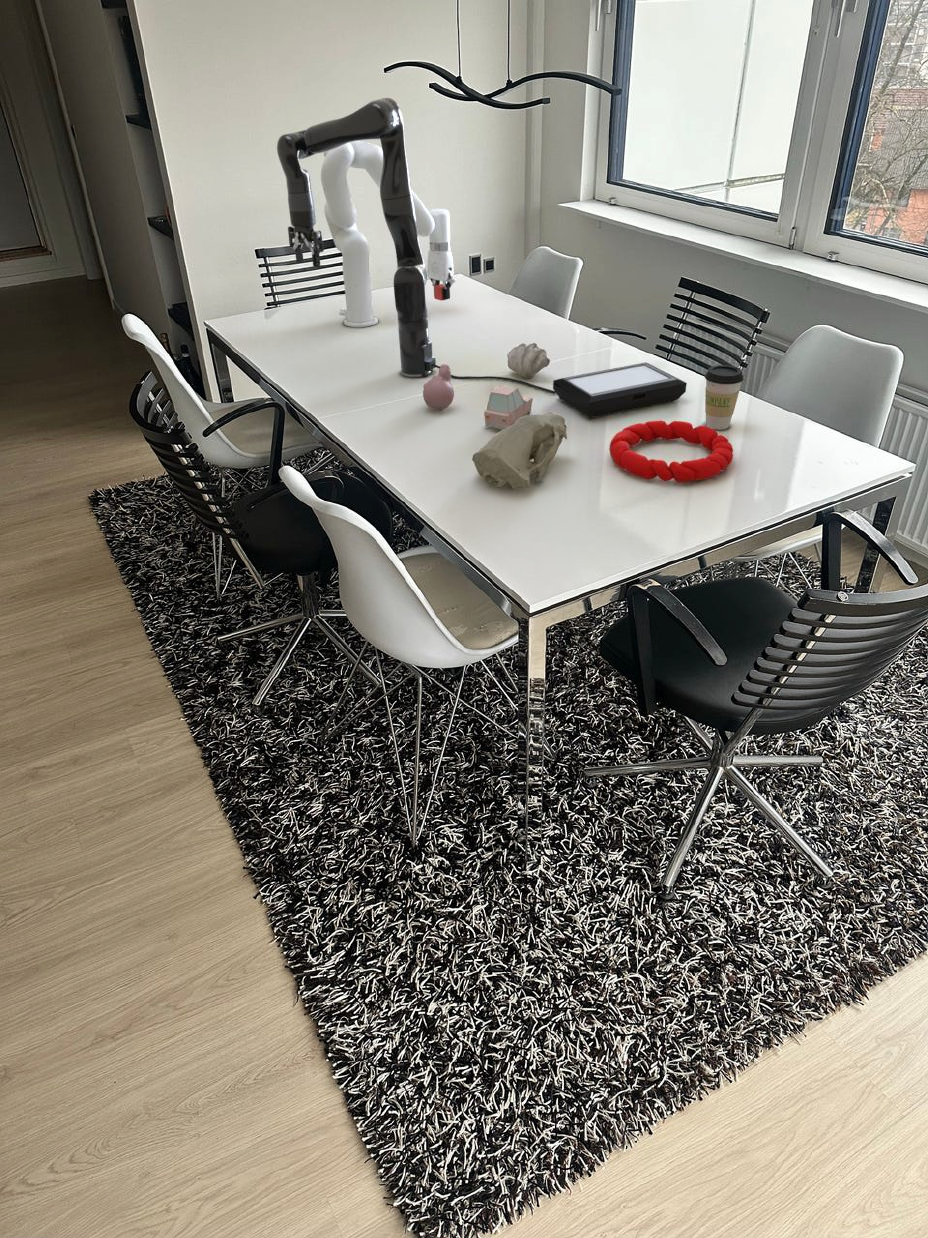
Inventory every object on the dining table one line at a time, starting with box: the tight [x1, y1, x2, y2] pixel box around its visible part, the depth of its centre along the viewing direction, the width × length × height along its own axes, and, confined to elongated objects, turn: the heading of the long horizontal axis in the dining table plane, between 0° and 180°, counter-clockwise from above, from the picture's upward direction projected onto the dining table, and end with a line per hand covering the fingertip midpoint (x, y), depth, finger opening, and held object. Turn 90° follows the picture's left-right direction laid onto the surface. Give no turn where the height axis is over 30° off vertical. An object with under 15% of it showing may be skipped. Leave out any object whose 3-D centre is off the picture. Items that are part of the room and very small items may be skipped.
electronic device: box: [552, 362, 688, 419], centre depth 255 cm, size 32×6×20 cm
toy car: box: [483, 385, 534, 430], centre depth 242 cm, size 9×15×10 cm, turn 149°
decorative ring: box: [609, 419, 734, 483], centre depth 221 cm, size 7×30×30 cm
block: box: [433, 283, 444, 302], centre depth 333 cm, size 4×4×5 cm
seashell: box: [506, 342, 551, 379], centre depth 273 cm, size 10×15×10 cm
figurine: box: [422, 363, 455, 411], centre depth 252 cm, size 9×11×12 cm
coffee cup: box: [704, 364, 745, 431], centre depth 235 cm, size 10×10×15 cm
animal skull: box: [471, 411, 568, 490], centre depth 215 cm, size 17×25×20 cm
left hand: (442, 297), depth 334 cm, fingers closed on block, 4 cm apart
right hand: (308, 264), depth 277 cm, fingers open, 8 cm apart
